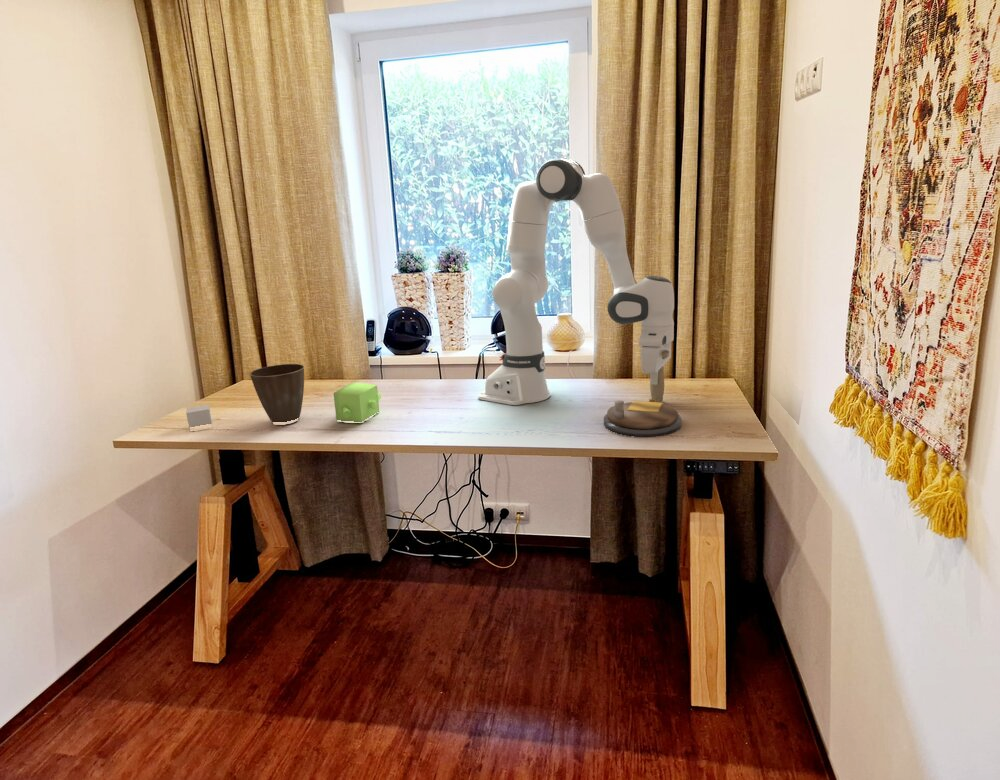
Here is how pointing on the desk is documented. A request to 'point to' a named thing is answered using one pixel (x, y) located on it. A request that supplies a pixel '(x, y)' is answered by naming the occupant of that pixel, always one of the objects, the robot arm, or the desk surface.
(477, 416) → the desk surface
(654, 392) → the handle
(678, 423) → the wheel base
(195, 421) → the grey cube
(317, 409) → the desk surface
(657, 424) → the disc
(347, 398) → the gearbox
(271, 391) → the plant pot
